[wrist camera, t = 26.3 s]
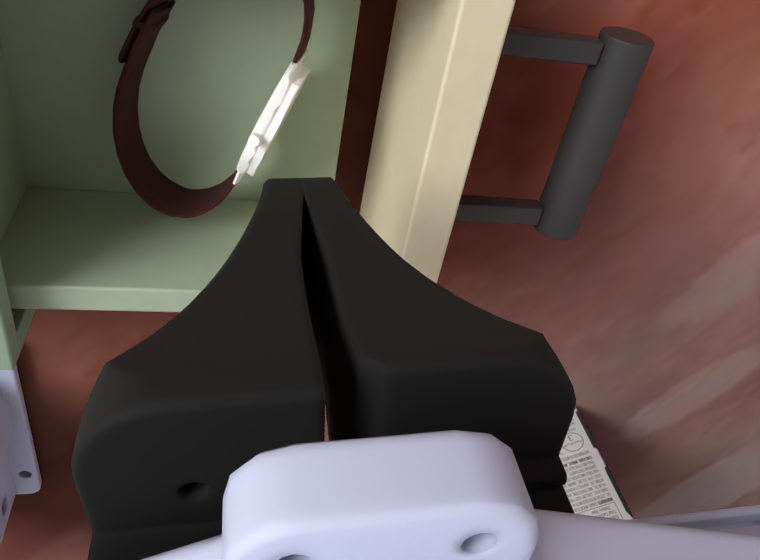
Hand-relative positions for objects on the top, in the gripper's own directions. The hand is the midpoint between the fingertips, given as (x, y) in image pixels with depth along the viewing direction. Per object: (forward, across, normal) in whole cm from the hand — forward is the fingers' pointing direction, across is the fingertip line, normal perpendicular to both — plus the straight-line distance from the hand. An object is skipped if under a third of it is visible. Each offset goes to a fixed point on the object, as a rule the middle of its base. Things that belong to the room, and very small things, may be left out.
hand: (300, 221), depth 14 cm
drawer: (+9, -1, 0) cm, 9 cm away
